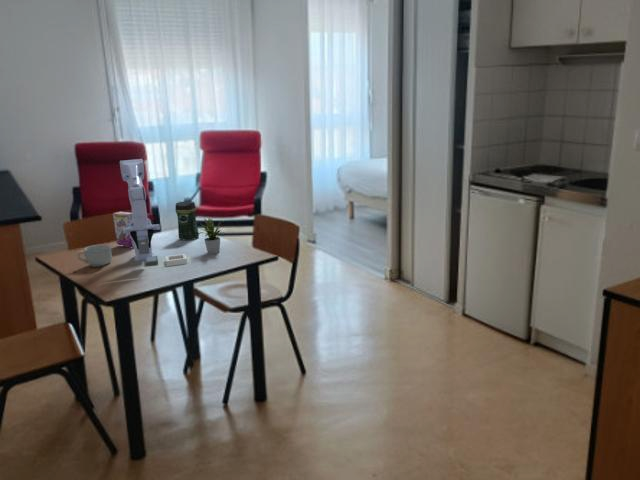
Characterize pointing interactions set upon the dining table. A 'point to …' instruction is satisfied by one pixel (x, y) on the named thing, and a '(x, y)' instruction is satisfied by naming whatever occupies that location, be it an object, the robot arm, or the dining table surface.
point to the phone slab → (151, 260)
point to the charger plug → (143, 245)
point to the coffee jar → (187, 220)
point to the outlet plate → (169, 261)
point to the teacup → (96, 255)
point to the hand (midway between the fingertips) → (144, 248)
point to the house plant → (211, 237)
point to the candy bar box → (122, 222)
